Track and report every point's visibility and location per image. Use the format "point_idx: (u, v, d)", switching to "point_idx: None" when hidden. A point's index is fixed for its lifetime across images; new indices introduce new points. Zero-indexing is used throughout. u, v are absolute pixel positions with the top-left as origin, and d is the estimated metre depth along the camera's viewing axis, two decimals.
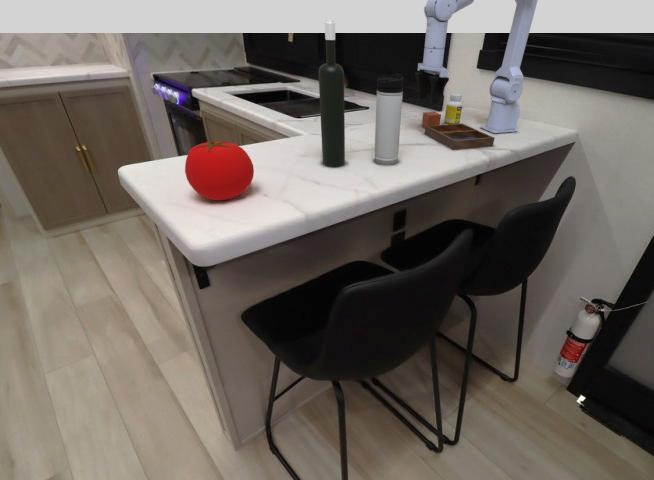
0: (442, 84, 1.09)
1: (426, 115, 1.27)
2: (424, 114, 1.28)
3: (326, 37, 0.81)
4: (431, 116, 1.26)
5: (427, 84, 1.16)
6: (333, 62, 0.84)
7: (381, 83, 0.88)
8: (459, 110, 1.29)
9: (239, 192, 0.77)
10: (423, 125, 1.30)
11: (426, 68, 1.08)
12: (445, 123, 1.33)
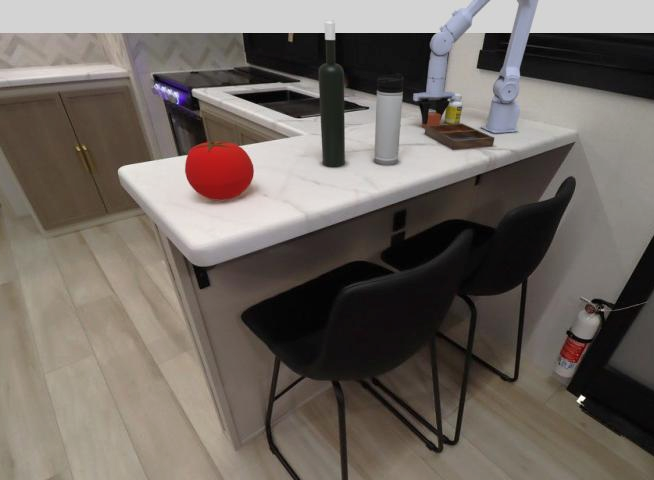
0: None
1: None
2: None
3: (326, 37, 0.81)
4: (431, 116, 1.26)
5: (440, 110, 1.27)
6: (333, 62, 0.84)
7: (381, 83, 0.88)
8: (459, 110, 1.29)
9: (239, 192, 0.77)
10: (423, 125, 1.30)
11: None
12: (445, 123, 1.33)
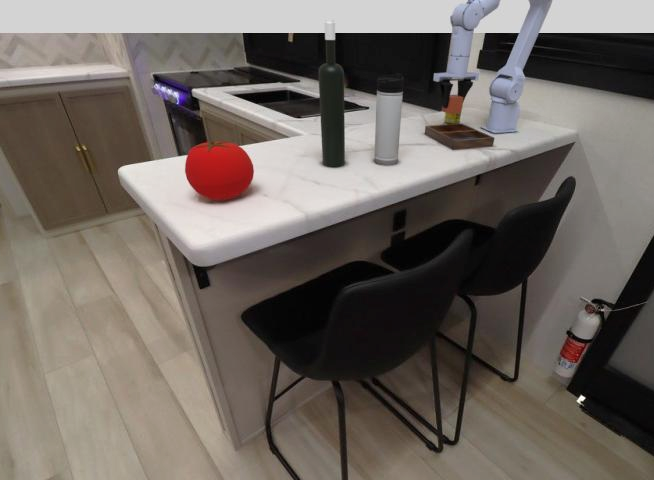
0: None
1: None
2: None
3: (326, 37, 0.81)
4: (453, 99, 1.14)
5: (463, 93, 1.16)
6: (333, 62, 0.84)
7: (381, 83, 0.88)
8: None
9: (239, 192, 0.77)
10: (443, 109, 1.19)
11: None
12: (445, 123, 1.33)
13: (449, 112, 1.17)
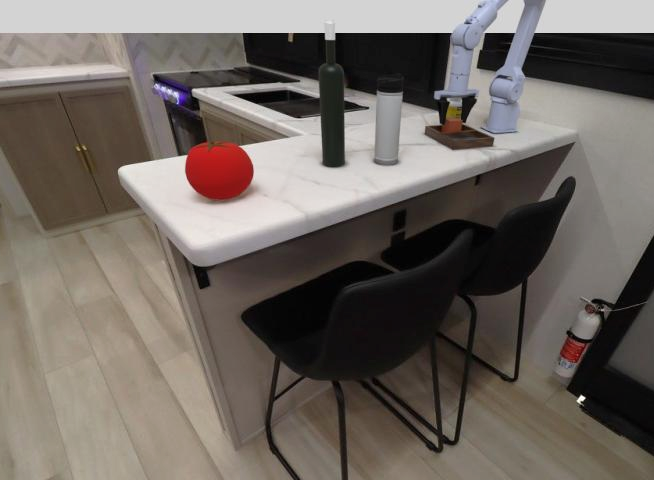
0: None
1: (446, 121, 1.18)
2: None
3: (326, 37, 0.81)
4: (452, 122, 1.17)
5: (467, 109, 1.18)
6: (333, 62, 0.84)
7: (381, 83, 0.88)
8: (459, 110, 1.29)
9: (239, 192, 0.77)
10: (443, 131, 1.22)
11: None
12: None
13: None
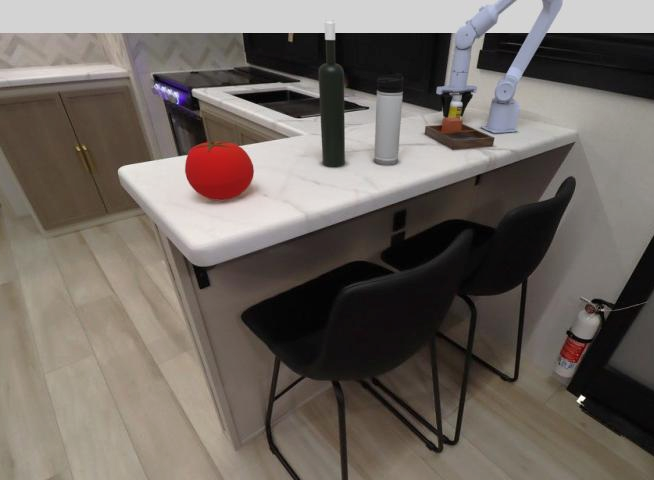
0: None
1: (446, 121, 1.18)
2: (444, 120, 1.20)
3: (326, 37, 0.81)
4: (452, 122, 1.17)
5: (464, 104, 1.30)
6: (333, 62, 0.84)
7: (381, 83, 0.88)
8: (459, 110, 1.29)
9: (239, 192, 0.77)
10: (443, 131, 1.22)
11: None
12: None
13: None
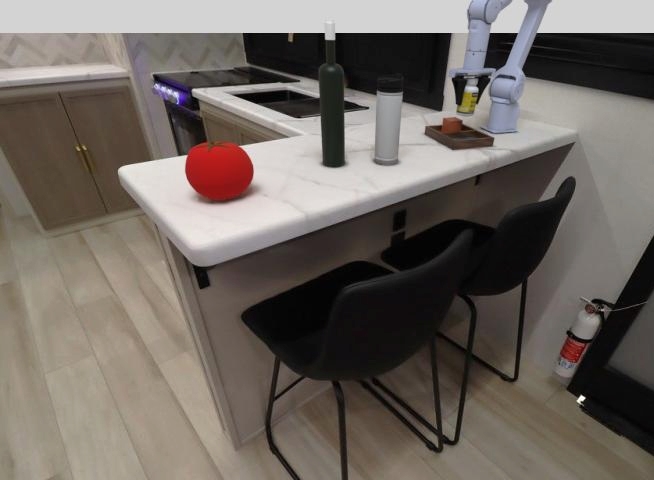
0: None
1: (446, 121, 1.18)
2: (444, 120, 1.20)
3: (326, 37, 0.81)
4: (452, 122, 1.17)
5: (480, 89, 1.12)
6: (333, 62, 0.84)
7: (381, 83, 0.88)
8: (474, 97, 1.11)
9: (239, 192, 0.77)
10: (443, 131, 1.22)
11: None
12: (458, 112, 1.15)
13: None
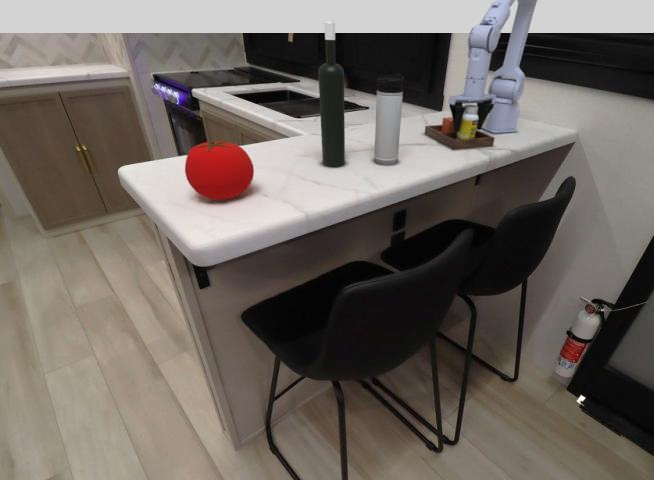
0: None
1: (446, 121, 1.18)
2: (444, 120, 1.20)
3: (326, 37, 0.81)
4: (452, 122, 1.17)
5: (483, 115, 1.11)
6: (333, 62, 0.84)
7: (381, 83, 0.88)
8: (474, 124, 1.11)
9: (239, 192, 0.77)
10: (443, 131, 1.22)
11: None
12: (458, 139, 1.14)
13: None
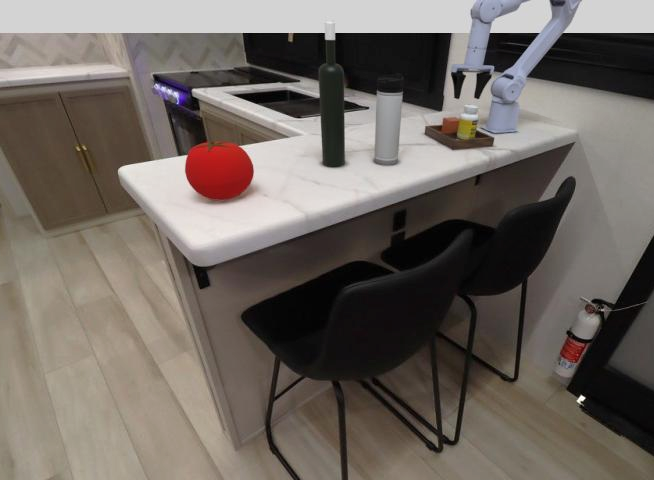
0: None
1: (446, 121, 1.18)
2: (444, 120, 1.20)
3: (326, 37, 0.81)
4: (452, 122, 1.17)
5: (481, 85, 1.20)
6: (333, 62, 0.84)
7: (381, 83, 0.88)
8: (474, 124, 1.11)
9: (239, 192, 0.77)
10: (443, 131, 1.22)
11: None
12: (458, 139, 1.14)
13: None
